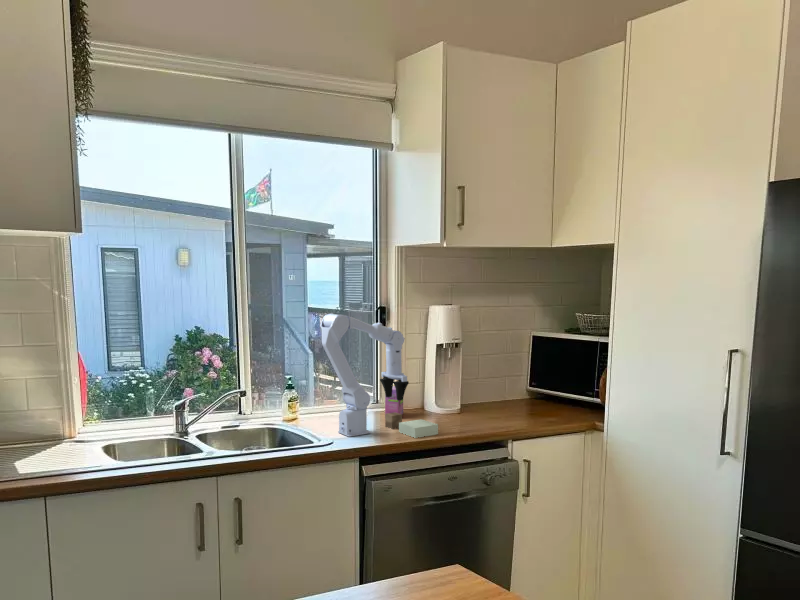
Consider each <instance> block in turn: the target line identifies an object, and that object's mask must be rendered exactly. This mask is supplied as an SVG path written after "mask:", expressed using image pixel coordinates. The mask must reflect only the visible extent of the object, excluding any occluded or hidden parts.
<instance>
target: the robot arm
mask: <svg viewBox="0 0 800 600" xmlns="http://www.w3.org/2000/svg"><path fill="white" fill-rule="evenodd" d="M319 327H320V328H321V346H322V347H323V350H324V351H325V353H326V355H327V357H328V360H329V361H330V363H331V365H332V368H333V369H334V372H335V373H336V376H337V377H338V379H339V381H340V384H341V386H342V387H341V393H342V399H343V402H344V404H345V405H346V407H345V409H342V410H340V412H339V415H338V431H337V432H338V433H339V434H341V435H344V436H347V437H354V436H355V437H356V436H361V435H366V434H369V435H370V434H372V431H370V430H367V429H368V426H367V423H368V421H367V415H368V414H367V413H368V412H367V411H368V410H367V409H368V406H369V405H370V403H371V395H370V394H369V392H367V391H366V390H365V388H364V386H362V384H360V382H358V380H357V379H356V377H355V374H354V373H353V370H352V368H351V365H350V364H349V362H348V360H347V358H346V355H345V354H344V352H343V350H342V347H341V345H340V341H341V339H342V338H343V336H345V334H346V332H347V331H348V330H352V329H354V330H358V331H360V332H363V333H366V334H368V337H369V338H370V339H372V340H375V341H378V342H382V343H384V344H385V359H386V360H385V361H386V362H385V363H386V365H385V366H386V367H385V368H386V371H381V378H380V379H379V382H380V383H381V385H382V387H383V391H384V396H385V395H386V397H392V387H393V385H395V388H396V396H397V400H398V401H399V400H403V401H404V396H405V394H406V393H405V392H406V389H407V387H408V385H409V384H410V383H409V380H408V376H407V375H405V373H404V372H402V371H403V370H402V362H403V361H402V360H403V359H402V349H403V344H404V343H405V339H406V338H405V337H404V335H403V333H402V332H401V331H399V330H393V327H391V326H384V325H383V323H381V322H375V323H373V324H370V323H368V322H365V321H363V320H360V319H358V318H355V317H354V316H348V315H345V314H336V313H335V314H333V313H326V314H325V315H324V316H323V317H322V319H321V322H320V325H319Z"/></svg>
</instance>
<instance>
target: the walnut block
mask: <svg viewBox="0 0 800 600" xmlns="http://www.w3.org/2000/svg"><path fill="white" fill-rule="evenodd" d="M384 421H385V422H384V423H385V426H384V427H385V428H387V427H388V428H387V429H390V428H391V429H390V430H394V429H395V428H396V429H399V423H400V422H403V414H399V413H396V412H394V413H387V414H385V413H384Z"/></svg>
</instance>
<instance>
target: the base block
mask: <svg viewBox="0 0 800 600" xmlns="http://www.w3.org/2000/svg"><path fill="white" fill-rule="evenodd" d="M399 432H400V434H402V433H403V435H405V434H406V435H405V436H408V435H409V436H408V437H410V436H411V438H413V437H414V439H419V438H423V437H424V436H425V437H429V436H435V435H439V424H438V423H435V422H432V421H427V420H425V419H415V420H409V421H408V420H407V421H402V422H400V423H399V428H398V433H399ZM418 437H419V438H418Z"/></svg>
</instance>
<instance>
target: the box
mask: <svg viewBox="0 0 800 600" xmlns="http://www.w3.org/2000/svg"><path fill="white" fill-rule="evenodd" d="M394 412H396V413H399V414H402V415H403V414H404V399H403V400H399V401H398V400H397V396H396V388H395V385H394V384H393V387H392V397H386V395H385V394H384V415H385V414H387V413H394Z"/></svg>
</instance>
